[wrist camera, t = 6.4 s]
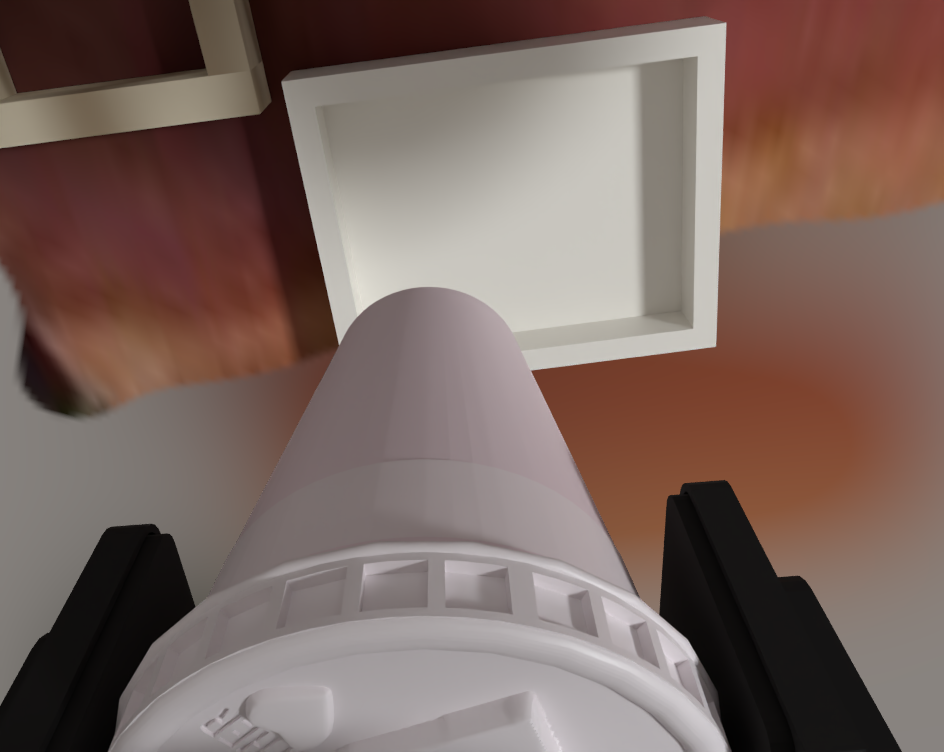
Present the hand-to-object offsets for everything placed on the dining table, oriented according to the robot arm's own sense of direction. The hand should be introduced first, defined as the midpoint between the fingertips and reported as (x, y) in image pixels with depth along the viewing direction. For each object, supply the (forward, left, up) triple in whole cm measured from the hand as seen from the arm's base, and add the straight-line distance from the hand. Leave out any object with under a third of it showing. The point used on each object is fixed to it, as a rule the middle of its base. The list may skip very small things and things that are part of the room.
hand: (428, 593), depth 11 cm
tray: (-3, +3, -25) cm, 26 cm away
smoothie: (0, 0, -6) cm, 6 cm away
